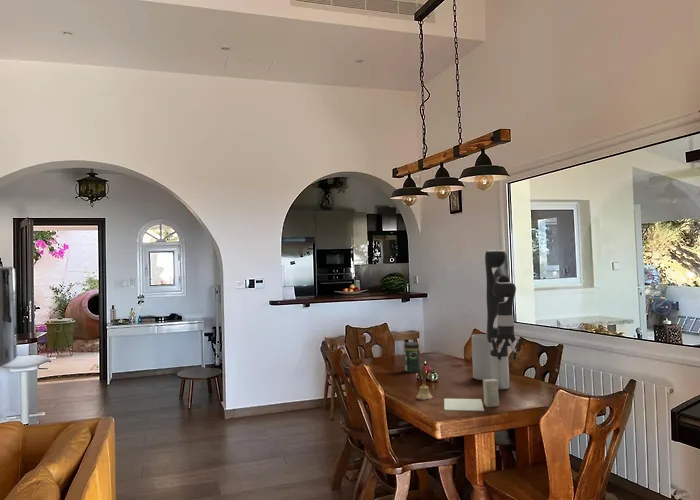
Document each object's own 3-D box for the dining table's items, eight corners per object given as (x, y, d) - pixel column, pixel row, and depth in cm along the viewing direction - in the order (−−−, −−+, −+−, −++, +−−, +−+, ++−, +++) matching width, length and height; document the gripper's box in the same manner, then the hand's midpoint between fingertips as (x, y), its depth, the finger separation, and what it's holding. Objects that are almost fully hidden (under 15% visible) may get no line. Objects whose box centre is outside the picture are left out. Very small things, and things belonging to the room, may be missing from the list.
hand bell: (416, 395, 270) (415, 364, 270) (432, 395, 269) (431, 364, 269) (416, 399, 261) (415, 367, 262) (433, 399, 260) (432, 367, 261)
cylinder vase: (469, 377, 309) (467, 335, 310) (487, 375, 313) (485, 333, 314) (480, 381, 297) (478, 337, 298) (499, 379, 301) (497, 336, 302)
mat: (444, 399, 260) (444, 398, 260) (481, 399, 257) (481, 399, 257) (444, 410, 241) (444, 409, 241) (484, 411, 237) (484, 410, 237)
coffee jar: (418, 369, 336) (417, 340, 337) (421, 372, 328) (420, 342, 329) (403, 370, 335) (402, 341, 336) (406, 372, 327) (405, 343, 328)
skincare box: (496, 404, 249) (495, 378, 249) (499, 406, 244) (498, 380, 245) (483, 404, 249) (482, 379, 249) (486, 407, 244) (485, 381, 245)
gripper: (520, 323, 249) (521, 358, 248) (489, 323, 251) (490, 358, 251) (522, 325, 241) (524, 361, 241) (490, 325, 244) (492, 361, 243)
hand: (507, 360), depth 246 cm, fingers open, 5 cm apart
